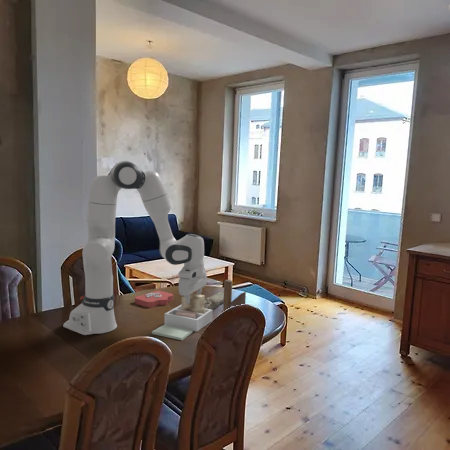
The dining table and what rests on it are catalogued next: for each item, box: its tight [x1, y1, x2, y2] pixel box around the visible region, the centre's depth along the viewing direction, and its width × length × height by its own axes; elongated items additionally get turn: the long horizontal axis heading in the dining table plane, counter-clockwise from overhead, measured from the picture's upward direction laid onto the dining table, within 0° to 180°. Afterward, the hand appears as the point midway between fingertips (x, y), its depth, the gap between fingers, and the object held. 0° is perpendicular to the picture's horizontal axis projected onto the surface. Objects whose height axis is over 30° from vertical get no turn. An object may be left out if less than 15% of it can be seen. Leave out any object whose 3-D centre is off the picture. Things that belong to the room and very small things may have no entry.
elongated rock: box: [204, 291, 224, 311], centre depth 212 cm, size 35×5×10 cm
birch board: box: [181, 292, 206, 314], centre depth 188 cm, size 10×3×12 cm, turn 66°
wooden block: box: [221, 279, 247, 313], centre depth 189 cm, size 4×11×18 cm, turn 54°
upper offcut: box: [176, 311, 196, 319], centre depth 182 cm, size 8×4×3 cm, turn 80°
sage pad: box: [151, 324, 194, 341], centre depth 173 cm, size 14×9×1 cm, turn 66°
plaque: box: [134, 290, 174, 308], centre depth 213 cm, size 18×4×15 cm
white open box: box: [163, 303, 214, 332], centre depth 185 cm, size 16×15×5 cm
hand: (193, 300), depth 187 cm, fingers open, 8 cm apart
